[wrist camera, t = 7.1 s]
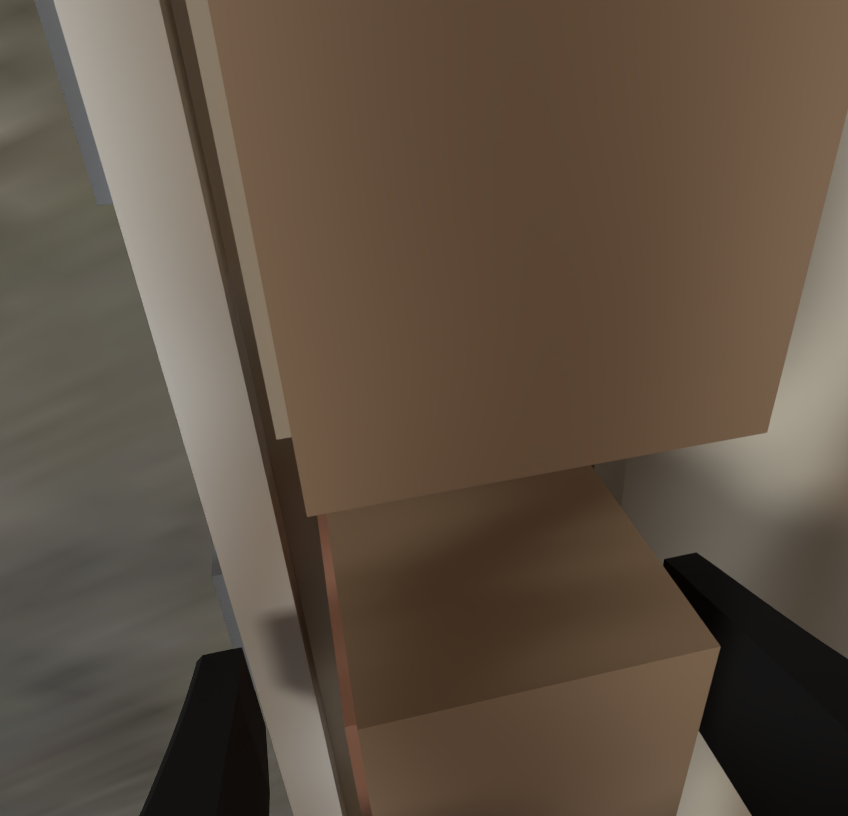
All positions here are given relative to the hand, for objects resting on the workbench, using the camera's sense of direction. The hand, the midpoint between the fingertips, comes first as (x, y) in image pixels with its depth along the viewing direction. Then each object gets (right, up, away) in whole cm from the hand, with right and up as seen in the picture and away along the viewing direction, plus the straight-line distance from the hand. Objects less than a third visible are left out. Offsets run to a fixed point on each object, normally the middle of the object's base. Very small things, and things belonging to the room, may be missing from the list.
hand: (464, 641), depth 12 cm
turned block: (0, +1, +2) cm, 2 cm away
